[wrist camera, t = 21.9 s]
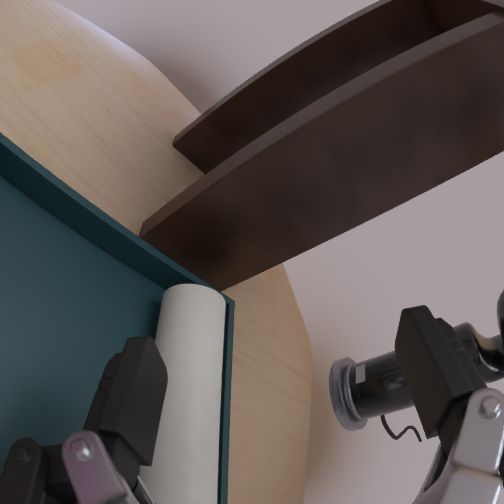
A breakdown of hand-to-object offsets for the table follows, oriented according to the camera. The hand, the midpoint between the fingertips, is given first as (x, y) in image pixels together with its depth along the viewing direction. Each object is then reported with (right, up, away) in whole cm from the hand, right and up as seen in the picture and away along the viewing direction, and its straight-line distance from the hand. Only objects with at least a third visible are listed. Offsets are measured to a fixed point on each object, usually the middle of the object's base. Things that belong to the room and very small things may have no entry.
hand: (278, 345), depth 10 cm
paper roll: (-7, -9, +7) cm, 13 cm away
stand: (-7, +8, +22) cm, 24 cm away
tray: (-11, -6, +3) cm, 13 cm away
